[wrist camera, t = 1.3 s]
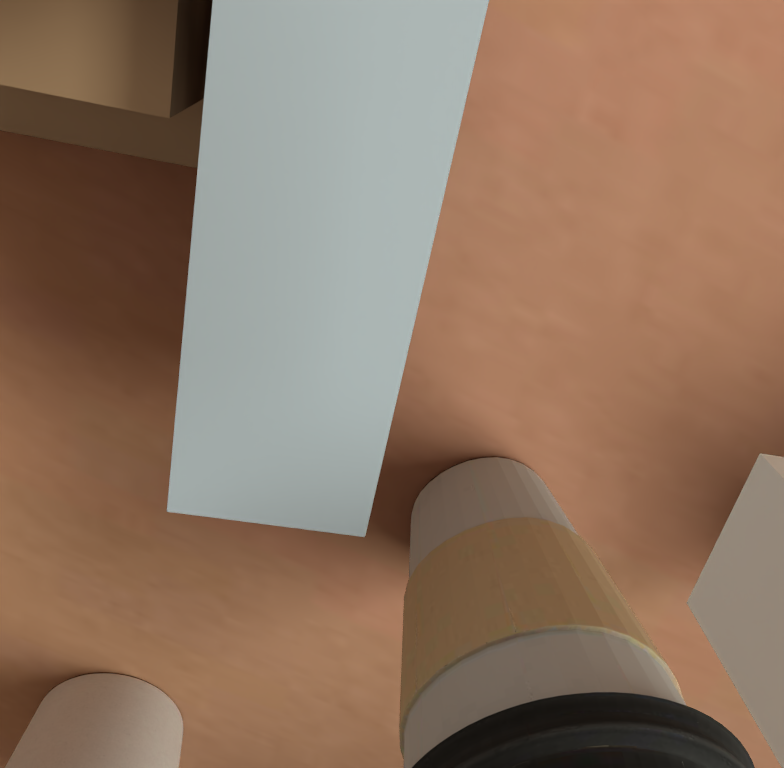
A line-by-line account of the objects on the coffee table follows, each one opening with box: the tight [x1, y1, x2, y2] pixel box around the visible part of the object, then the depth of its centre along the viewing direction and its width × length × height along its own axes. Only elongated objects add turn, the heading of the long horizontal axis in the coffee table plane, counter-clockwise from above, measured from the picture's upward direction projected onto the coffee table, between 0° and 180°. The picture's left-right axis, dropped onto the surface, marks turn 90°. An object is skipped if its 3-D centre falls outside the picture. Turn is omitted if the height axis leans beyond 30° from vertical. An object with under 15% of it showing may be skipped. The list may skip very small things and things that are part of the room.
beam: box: [167, 0, 489, 537], centre depth 17 cm, size 22×5×5 cm, turn 169°
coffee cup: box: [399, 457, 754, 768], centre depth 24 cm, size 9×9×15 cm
